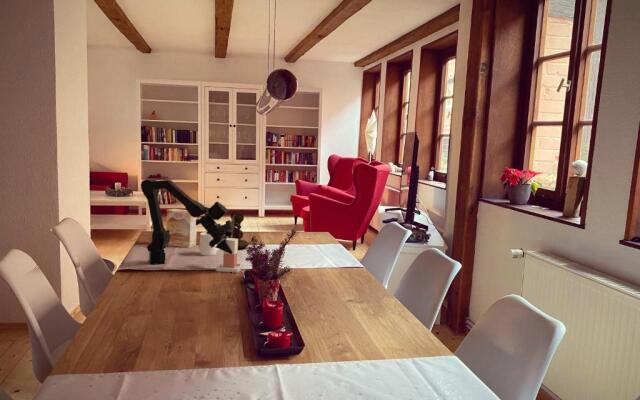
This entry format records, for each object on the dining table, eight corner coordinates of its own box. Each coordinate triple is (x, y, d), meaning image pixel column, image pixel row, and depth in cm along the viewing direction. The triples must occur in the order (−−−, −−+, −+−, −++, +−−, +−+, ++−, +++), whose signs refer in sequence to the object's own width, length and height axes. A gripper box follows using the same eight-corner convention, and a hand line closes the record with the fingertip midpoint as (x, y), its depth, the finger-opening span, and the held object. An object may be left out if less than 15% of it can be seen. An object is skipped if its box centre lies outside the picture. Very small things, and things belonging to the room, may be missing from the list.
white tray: (216, 271, 220) (216, 267, 220) (222, 265, 230) (223, 262, 230) (237, 273, 219) (237, 269, 219) (243, 267, 229) (243, 264, 229)
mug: (224, 255, 252) (225, 235, 250) (201, 256, 247) (201, 235, 245) (220, 251, 259) (221, 231, 258) (197, 252, 254) (198, 232, 253)
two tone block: (223, 266, 222) (224, 239, 221) (226, 264, 227) (227, 237, 226) (233, 267, 222) (234, 240, 221) (236, 265, 227) (238, 238, 225)
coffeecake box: (165, 244, 267) (166, 209, 265) (172, 242, 274) (173, 208, 272) (189, 248, 263) (190, 212, 261) (196, 245, 270) (197, 211, 268)
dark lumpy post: (219, 245, 275) (221, 210, 273) (245, 244, 281) (246, 210, 279) (226, 250, 262) (227, 214, 260) (252, 249, 268) (254, 214, 266)
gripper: (217, 218, 213) (240, 245, 213) (229, 212, 232) (251, 237, 232) (199, 234, 215) (222, 261, 215) (213, 227, 233) (234, 252, 233)
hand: (233, 252), depth 224 cm, fingers closed on two tone block, 5 cm apart
